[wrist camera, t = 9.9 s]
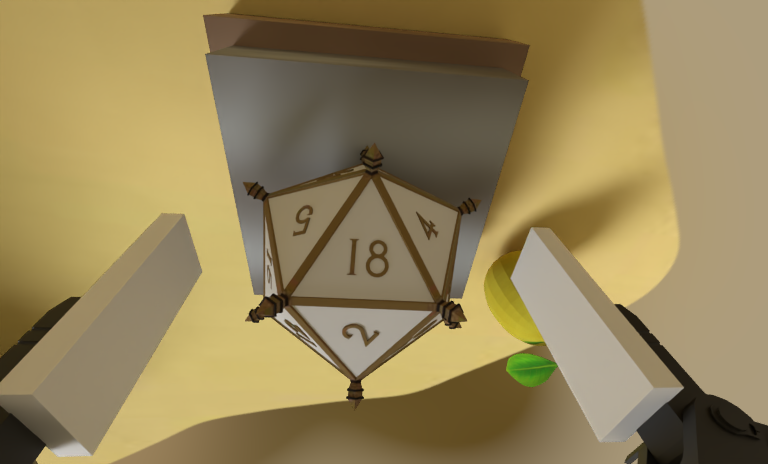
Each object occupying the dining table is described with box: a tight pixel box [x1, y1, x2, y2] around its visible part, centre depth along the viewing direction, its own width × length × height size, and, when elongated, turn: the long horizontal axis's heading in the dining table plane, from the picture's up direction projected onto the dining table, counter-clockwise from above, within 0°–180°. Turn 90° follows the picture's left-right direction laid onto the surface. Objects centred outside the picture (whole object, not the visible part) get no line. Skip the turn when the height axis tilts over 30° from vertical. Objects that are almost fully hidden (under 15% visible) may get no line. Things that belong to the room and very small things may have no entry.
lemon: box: [484, 250, 558, 387], centre depth 22 cm, size 7×6×10 cm
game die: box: [243, 143, 481, 410], centre depth 12 cm, size 9×8×10 cm
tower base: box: [203, 13, 530, 298], centre depth 18 cm, size 14×14×6 cm
